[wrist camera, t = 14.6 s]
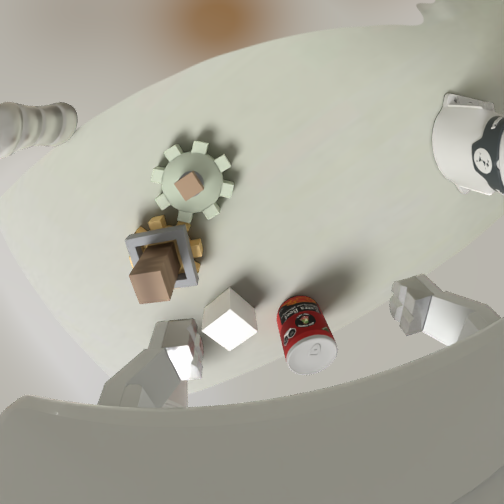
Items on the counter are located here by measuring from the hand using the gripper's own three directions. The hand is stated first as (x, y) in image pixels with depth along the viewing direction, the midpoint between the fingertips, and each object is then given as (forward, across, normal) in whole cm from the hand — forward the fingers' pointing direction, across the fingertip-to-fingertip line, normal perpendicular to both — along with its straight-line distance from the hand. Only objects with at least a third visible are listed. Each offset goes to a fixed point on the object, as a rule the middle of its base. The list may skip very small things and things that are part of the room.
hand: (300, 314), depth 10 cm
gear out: (+29, -14, -8) cm, 33 cm away
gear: (+29, -7, +2) cm, 30 cm away
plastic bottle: (+29, -26, +15) cm, 42 cm away
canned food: (+29, +5, -23) cm, 38 cm away
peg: (+27, -14, -8) cm, 31 cm away
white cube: (+30, -6, -20) cm, 36 cm away
